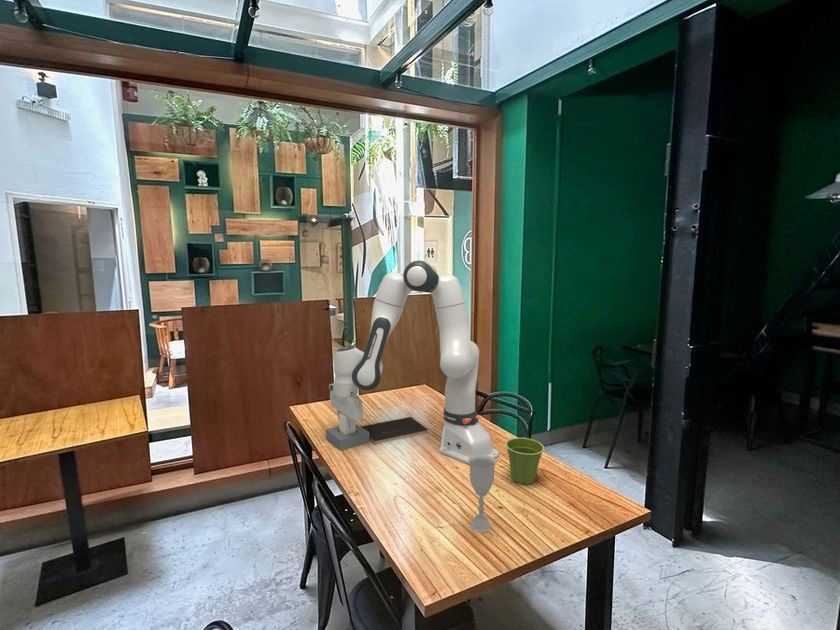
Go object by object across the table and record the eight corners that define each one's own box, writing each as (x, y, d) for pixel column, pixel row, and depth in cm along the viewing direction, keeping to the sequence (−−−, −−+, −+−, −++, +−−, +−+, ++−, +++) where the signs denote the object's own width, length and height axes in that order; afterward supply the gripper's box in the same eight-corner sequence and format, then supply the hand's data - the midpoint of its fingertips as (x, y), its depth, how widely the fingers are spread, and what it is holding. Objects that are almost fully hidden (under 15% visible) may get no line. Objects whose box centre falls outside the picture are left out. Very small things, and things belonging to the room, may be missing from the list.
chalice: (492, 518, 115) (493, 454, 113) (497, 534, 109) (499, 466, 106) (465, 518, 115) (466, 454, 113) (468, 534, 108) (469, 467, 106)
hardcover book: (428, 434, 171) (428, 429, 171) (374, 446, 161) (374, 440, 160) (410, 421, 185) (410, 416, 185) (359, 431, 175) (359, 425, 174)
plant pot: (515, 491, 129) (516, 455, 127) (498, 472, 140) (499, 439, 138) (550, 486, 132) (552, 451, 130) (530, 468, 143) (531, 435, 142)
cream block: (355, 441, 164) (355, 413, 162) (345, 444, 161) (344, 416, 159) (350, 437, 167) (349, 410, 166) (339, 440, 164) (339, 412, 163)
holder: (369, 442, 163) (369, 432, 162) (340, 450, 156) (340, 440, 155) (354, 432, 172) (353, 422, 172) (326, 439, 165) (326, 429, 165)
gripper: (367, 394, 155) (367, 431, 157) (341, 381, 171) (342, 414, 173) (351, 398, 151) (352, 435, 153) (327, 384, 168) (327, 418, 169)
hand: (346, 424), depth 163 cm, fingers open, 8 cm apart
